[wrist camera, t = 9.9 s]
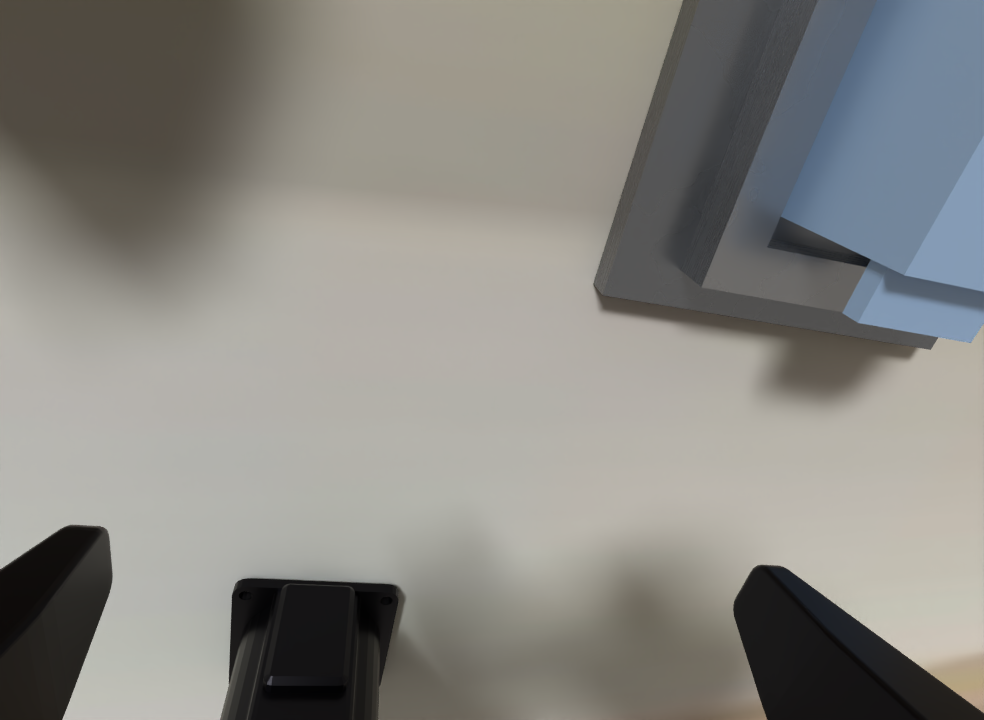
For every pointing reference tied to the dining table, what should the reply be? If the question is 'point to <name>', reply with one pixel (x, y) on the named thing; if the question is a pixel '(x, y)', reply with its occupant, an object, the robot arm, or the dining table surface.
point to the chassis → (740, 170)
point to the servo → (907, 168)
